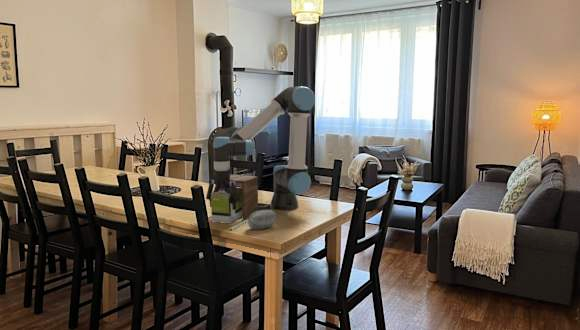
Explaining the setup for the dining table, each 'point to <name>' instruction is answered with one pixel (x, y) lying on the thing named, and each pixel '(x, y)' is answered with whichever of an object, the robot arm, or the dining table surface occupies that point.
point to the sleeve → (247, 193)
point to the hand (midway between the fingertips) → (223, 215)
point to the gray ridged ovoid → (262, 219)
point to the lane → (235, 225)
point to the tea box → (225, 206)
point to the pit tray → (264, 206)
